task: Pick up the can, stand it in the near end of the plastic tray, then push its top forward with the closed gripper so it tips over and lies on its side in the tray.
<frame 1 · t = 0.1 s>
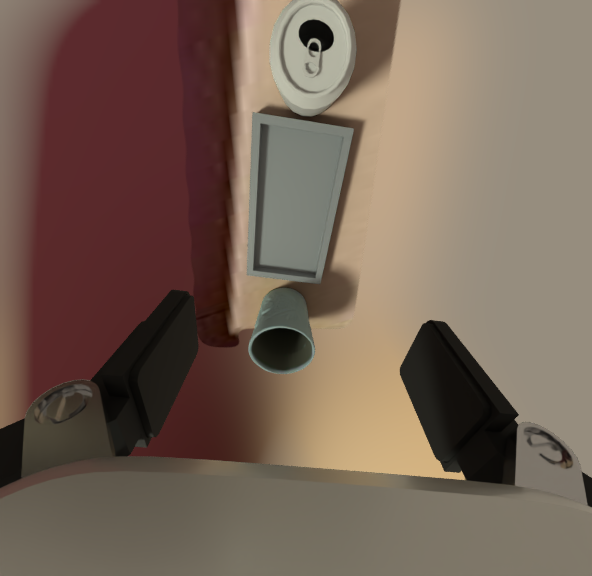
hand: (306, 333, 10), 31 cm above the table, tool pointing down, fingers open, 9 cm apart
tray: (292, 208, 38), on the table
drinking glass: (285, 305, 48), on the table
can: (308, 80, 30), on the table
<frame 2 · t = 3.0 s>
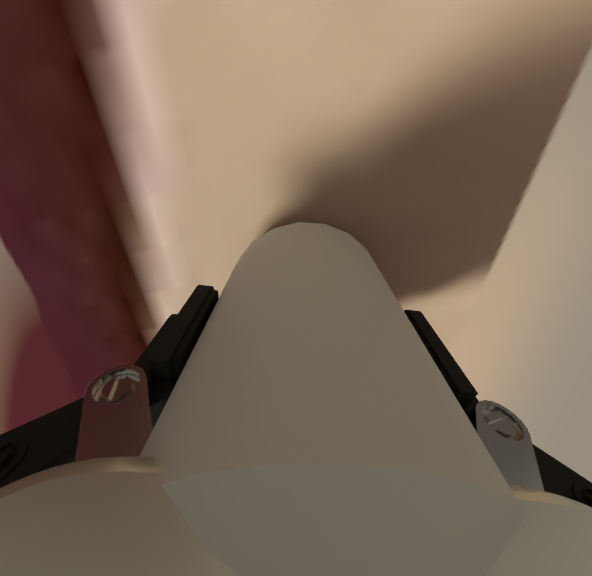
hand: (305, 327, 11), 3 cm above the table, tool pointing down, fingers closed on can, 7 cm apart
can: (304, 283, 14), on the table, touching gripper
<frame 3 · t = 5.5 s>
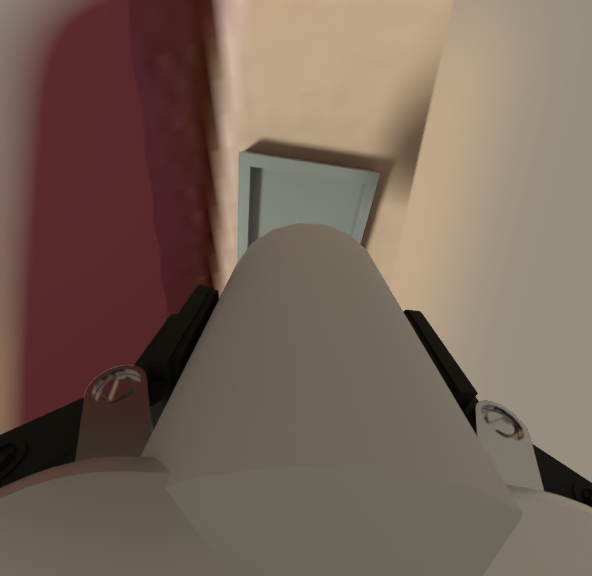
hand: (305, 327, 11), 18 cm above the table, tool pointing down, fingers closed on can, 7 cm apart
tray: (294, 265, 29), on the table
can: (304, 283, 14), point 15 cm above the table, touching gripper
when the fingers open (5 cm above the table, at t = 8.4 s): can stays where it is, resting on tray.
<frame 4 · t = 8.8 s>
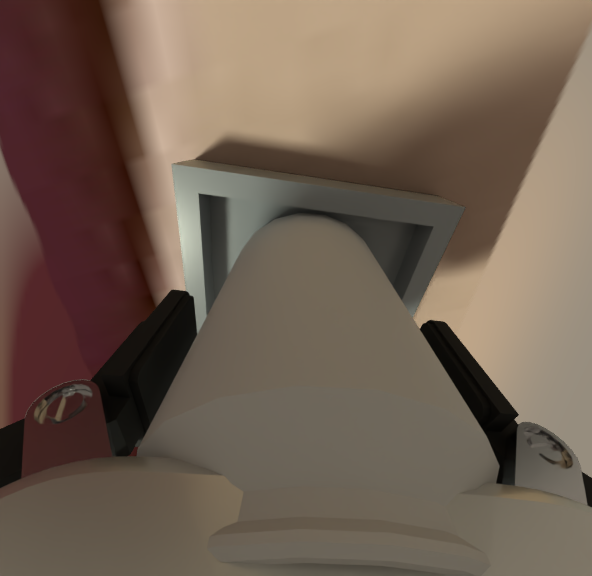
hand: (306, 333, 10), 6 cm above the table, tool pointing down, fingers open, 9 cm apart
tray: (291, 341, 18), on the table
can: (304, 273, 14), point 1 cm above the table, touching tray
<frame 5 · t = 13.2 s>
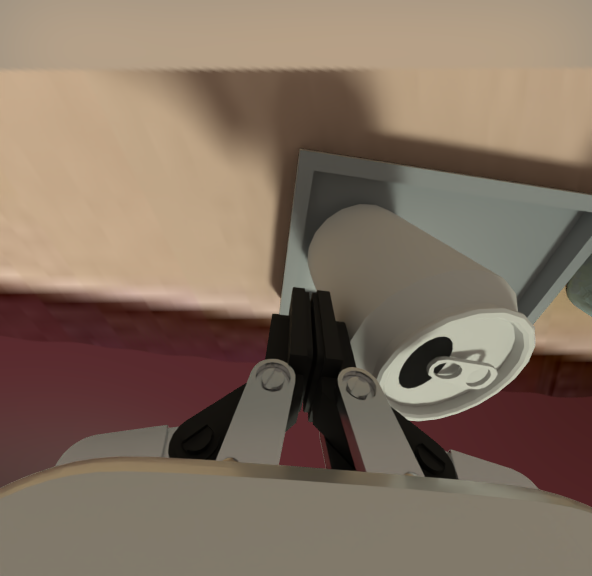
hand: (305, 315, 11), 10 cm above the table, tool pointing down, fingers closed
tray: (419, 252, 21), on the table
can: (351, 249, 19), point 1 cm above the table, touching gripper, tray
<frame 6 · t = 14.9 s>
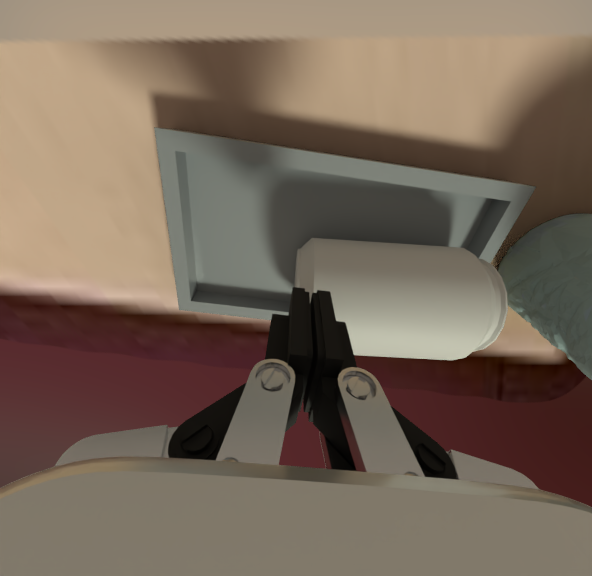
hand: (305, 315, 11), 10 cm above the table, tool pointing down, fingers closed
tray: (328, 244, 20), on the table
drinking glass: (550, 261, 20), on the table
can: (291, 293, 16), point 5 cm above the table, touching tray
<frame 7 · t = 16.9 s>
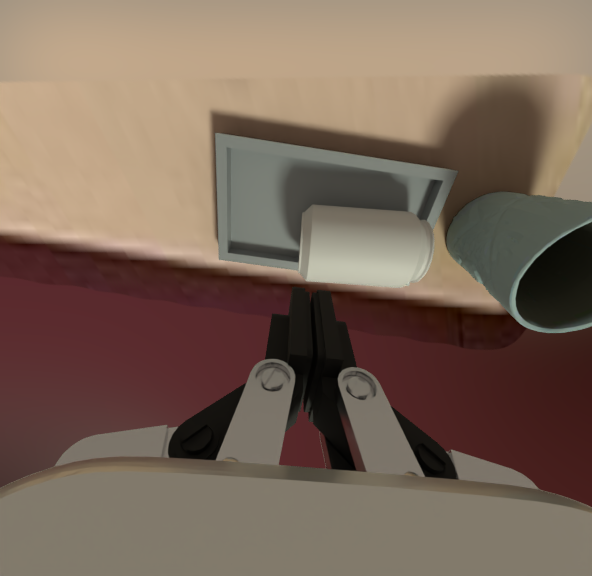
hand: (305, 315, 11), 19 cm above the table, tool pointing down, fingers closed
tray: (324, 213, 28), on the table
drinking glass: (485, 228, 28), on the table
can: (298, 242, 25), point 5 cm above the table, touching tray
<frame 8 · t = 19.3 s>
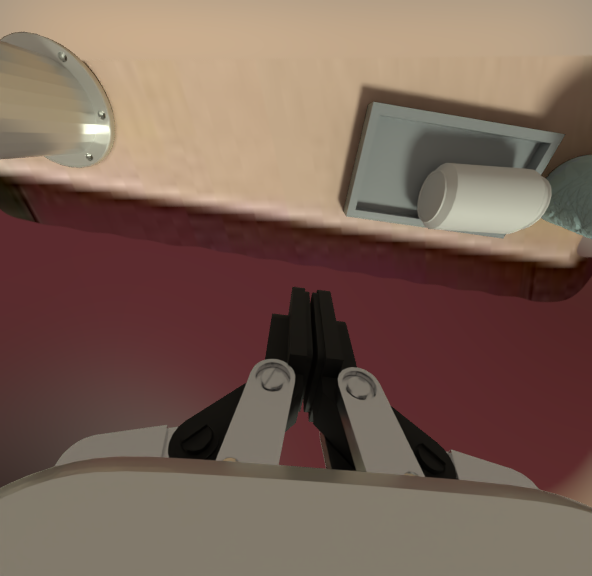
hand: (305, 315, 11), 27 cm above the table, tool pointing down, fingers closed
tray: (437, 176, 33), on the table
drinking glass: (569, 188, 34), on the table
can: (428, 196, 30), point 5 cm above the table, touching tray
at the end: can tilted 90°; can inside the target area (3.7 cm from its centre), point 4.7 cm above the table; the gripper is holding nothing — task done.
